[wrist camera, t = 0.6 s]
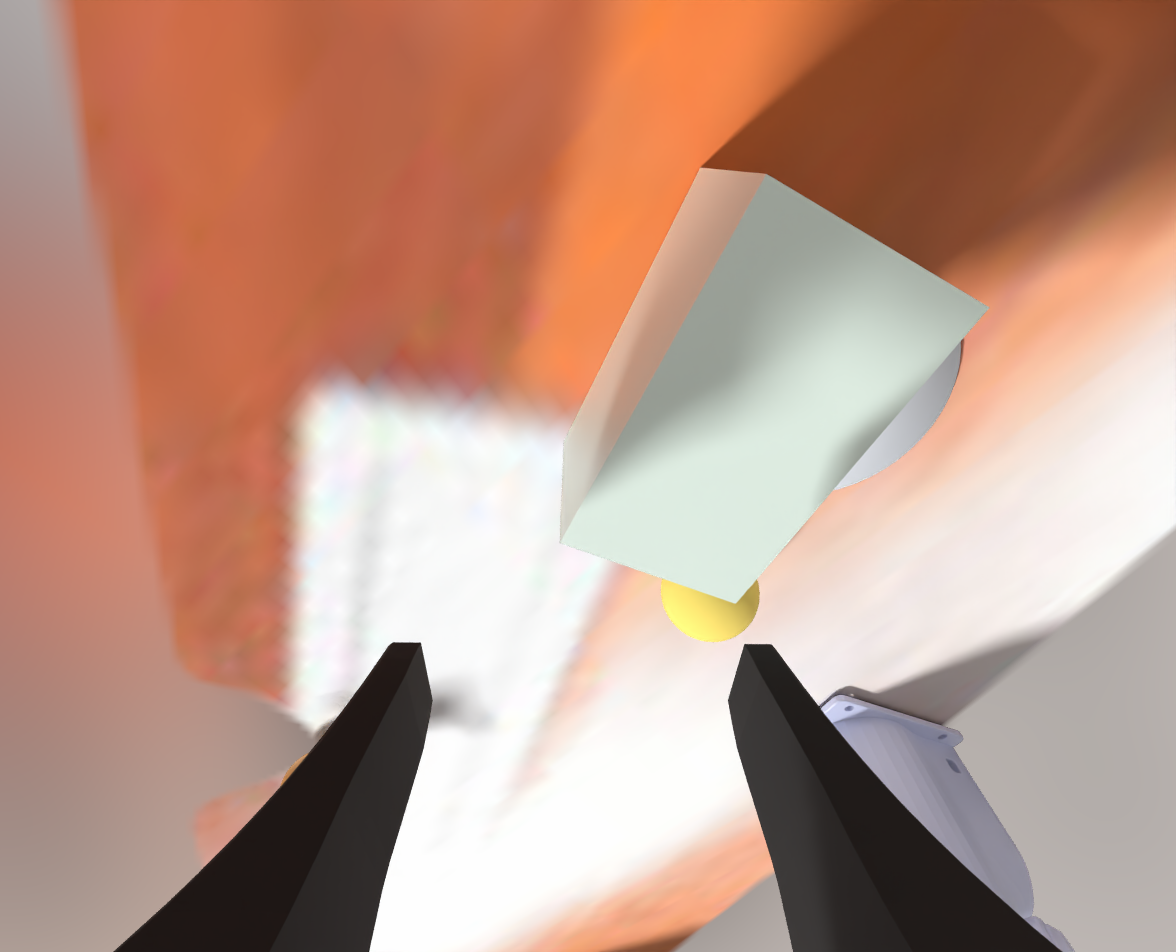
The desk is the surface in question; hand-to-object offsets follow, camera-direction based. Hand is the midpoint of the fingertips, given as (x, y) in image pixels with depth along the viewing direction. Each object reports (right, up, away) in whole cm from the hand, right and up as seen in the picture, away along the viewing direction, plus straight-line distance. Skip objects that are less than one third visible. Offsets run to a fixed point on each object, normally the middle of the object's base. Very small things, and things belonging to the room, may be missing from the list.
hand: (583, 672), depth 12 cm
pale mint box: (+4, +9, +6) cm, 12 cm away
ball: (+5, 0, +10) cm, 11 cm away
